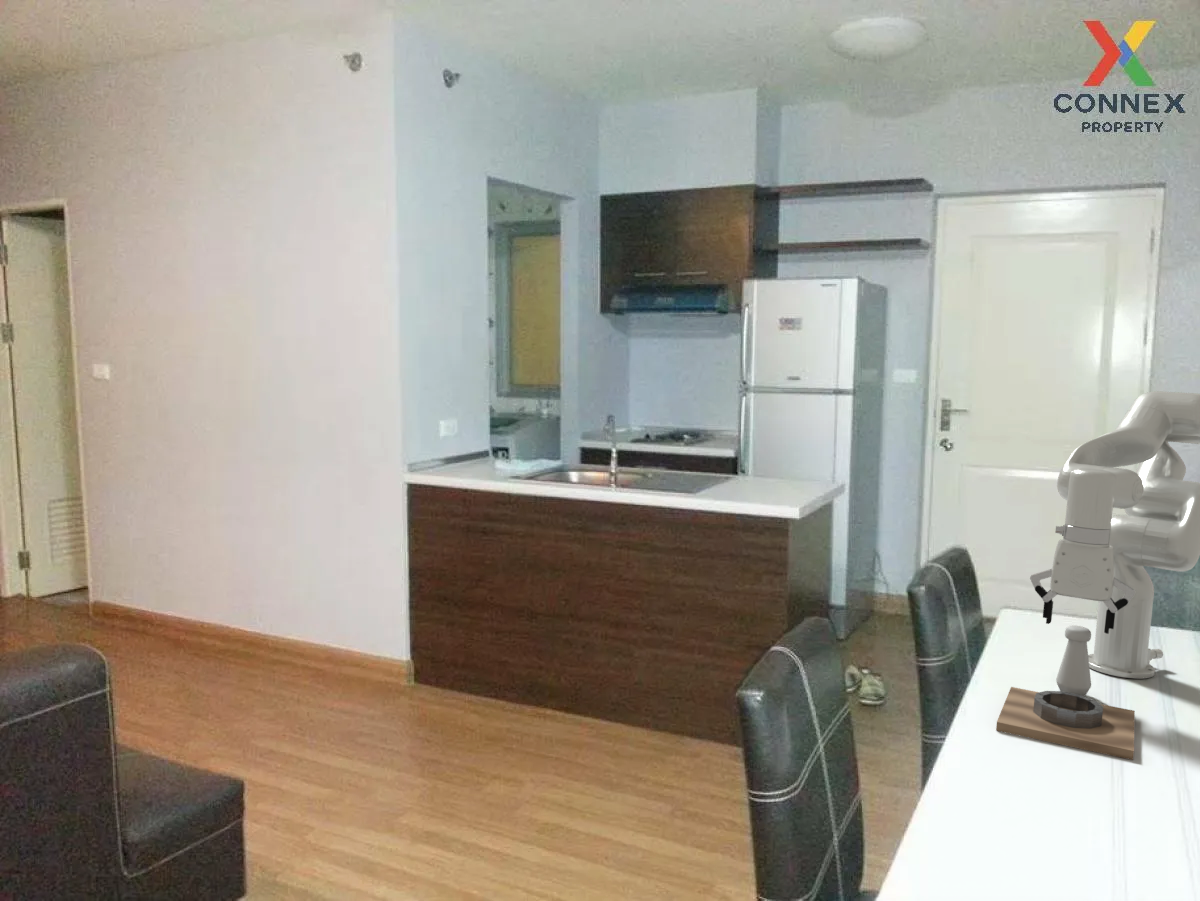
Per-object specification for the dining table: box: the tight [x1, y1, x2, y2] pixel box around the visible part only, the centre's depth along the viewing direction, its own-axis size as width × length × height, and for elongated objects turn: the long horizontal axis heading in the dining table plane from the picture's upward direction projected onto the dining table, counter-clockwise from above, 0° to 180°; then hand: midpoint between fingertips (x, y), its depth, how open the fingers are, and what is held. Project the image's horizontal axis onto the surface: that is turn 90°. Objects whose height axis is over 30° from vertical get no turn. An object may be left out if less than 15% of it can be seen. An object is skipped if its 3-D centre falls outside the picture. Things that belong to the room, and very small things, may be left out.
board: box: [995, 686, 1136, 761], centre depth 160 cm, size 20×20×2 cm
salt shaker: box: [1055, 624, 1092, 697], centre depth 174 cm, size 6×6×13 cm
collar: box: [1033, 690, 1103, 729], centre depth 160 cm, size 10×10×2 cm
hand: (1077, 627), depth 173 cm, fingers open, 9 cm apart
